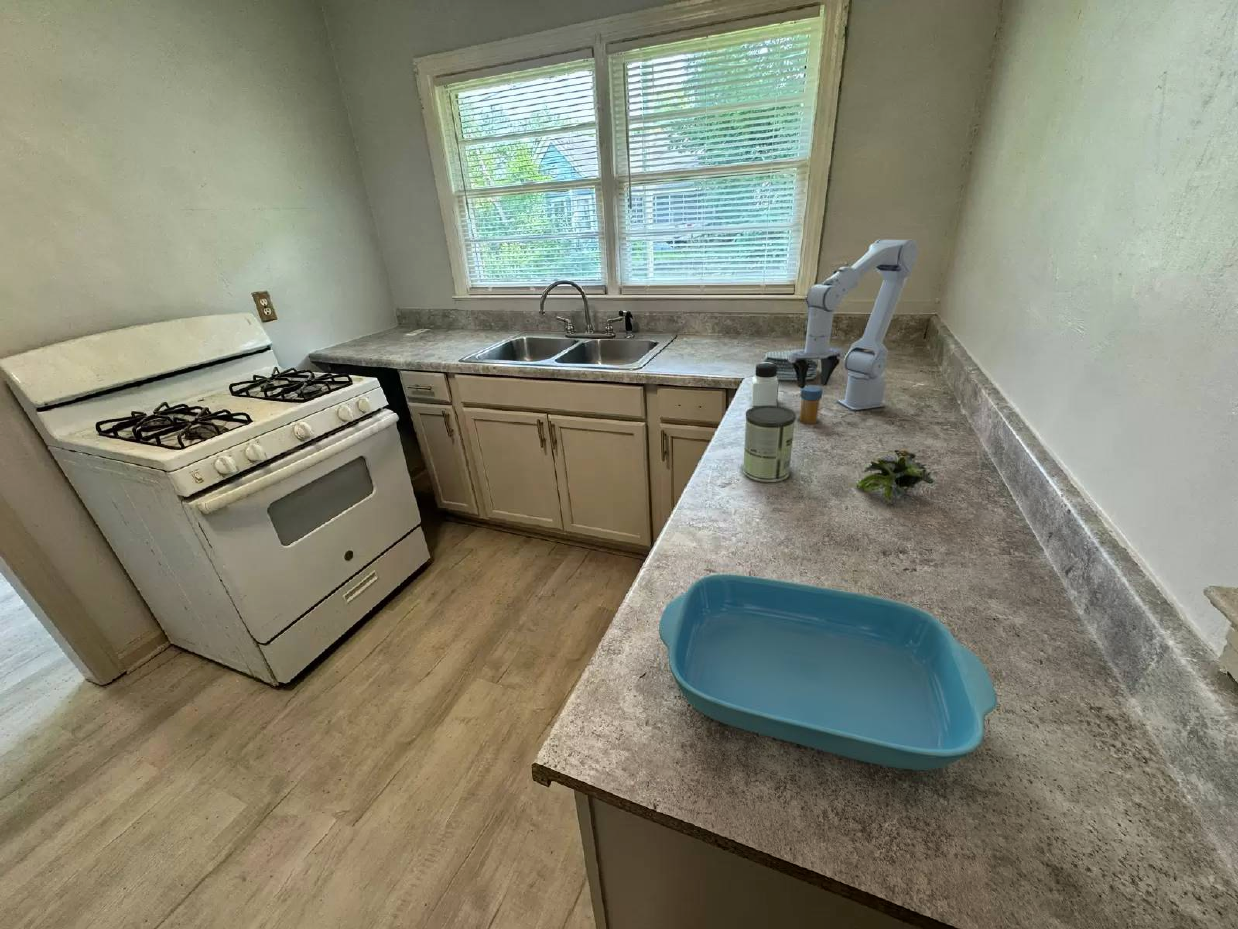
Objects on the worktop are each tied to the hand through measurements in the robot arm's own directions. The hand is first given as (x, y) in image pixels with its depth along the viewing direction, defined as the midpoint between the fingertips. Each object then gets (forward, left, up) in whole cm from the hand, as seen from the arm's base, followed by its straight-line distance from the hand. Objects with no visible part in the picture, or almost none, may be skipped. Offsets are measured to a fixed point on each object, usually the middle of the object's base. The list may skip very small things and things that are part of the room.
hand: (812, 385), depth 131 cm
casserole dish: (+44, +77, -10) cm, 89 cm away
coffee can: (+24, +24, -10) cm, 35 cm away
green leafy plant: (+5, +41, -10) cm, 43 cm away
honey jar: (0, 0, -10) cm, 10 cm away
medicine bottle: (+5, -17, -10) cm, 20 cm away
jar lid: (0, 0, -1) cm, 1 cm away
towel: (-15, -40, -10) cm, 44 cm away
